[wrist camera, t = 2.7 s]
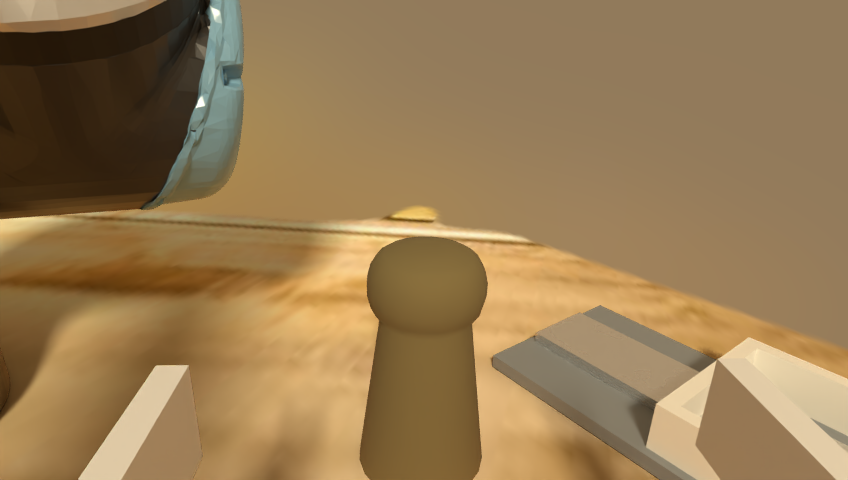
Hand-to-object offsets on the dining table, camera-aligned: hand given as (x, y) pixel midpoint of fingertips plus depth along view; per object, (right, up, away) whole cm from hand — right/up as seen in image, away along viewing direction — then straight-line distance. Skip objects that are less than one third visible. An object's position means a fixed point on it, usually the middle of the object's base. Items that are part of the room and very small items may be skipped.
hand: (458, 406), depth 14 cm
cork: (-1, -6, +14) cm, 15 cm away
